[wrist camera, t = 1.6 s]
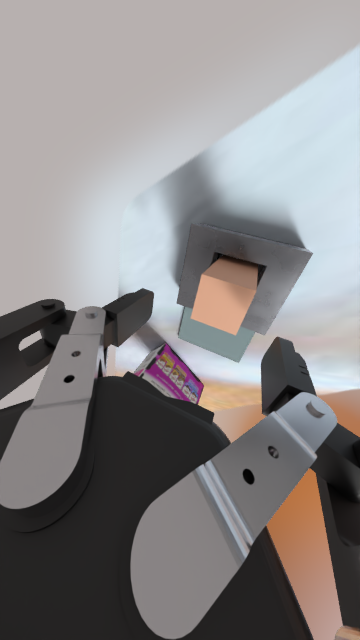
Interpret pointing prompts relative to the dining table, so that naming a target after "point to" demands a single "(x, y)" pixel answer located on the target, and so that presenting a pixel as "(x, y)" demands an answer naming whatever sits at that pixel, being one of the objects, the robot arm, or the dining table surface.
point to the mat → (214, 337)
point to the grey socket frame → (275, 256)
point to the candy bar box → (170, 375)
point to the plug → (225, 293)
